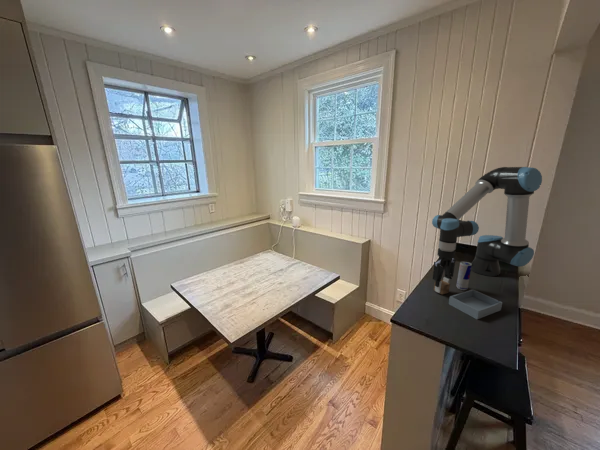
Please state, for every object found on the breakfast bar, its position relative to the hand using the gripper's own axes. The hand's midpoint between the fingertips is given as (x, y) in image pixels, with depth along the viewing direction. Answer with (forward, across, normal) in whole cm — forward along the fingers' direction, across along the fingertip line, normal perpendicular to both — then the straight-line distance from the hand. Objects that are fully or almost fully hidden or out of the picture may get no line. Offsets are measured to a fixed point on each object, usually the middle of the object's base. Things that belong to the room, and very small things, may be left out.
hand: (441, 290), depth 128 cm
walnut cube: (0, 0, 0) cm, 0 cm away
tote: (+1, -2, +16) cm, 16 cm away
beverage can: (+1, -14, +2) cm, 14 cm away
